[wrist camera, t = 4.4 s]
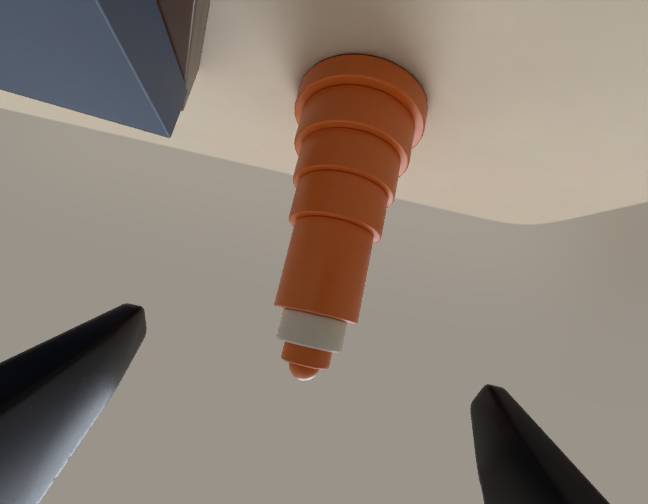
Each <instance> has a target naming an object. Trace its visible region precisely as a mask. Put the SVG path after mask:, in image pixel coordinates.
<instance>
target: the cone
mask: <svg viewBox="0 0 648 504" xmlns="http://www.w3.org/2000/svg"><path fill="white" fill-rule="evenodd" d="M295 116H296V120H297V122H298V125H299V126H298V129H297V133H296V137H295V149H296V152H297V154H298V156H299V157H298V161H297V164H296V168H295V172H294V176H293V183H294V185H295V187H296V192H295V196H294V199H293V203H292V207H291V211H290V215H289V222H290V223H291V225H292V226H293V227H294V229H293V233H292V237H291V241H290V244H289V248H288V252H287V256H286V260H285V264H284V268H283V272H282V276H281V280H280V284H279V288H278V292H277V295H276V299H275V303H274V305H275V306H277V307H280V308H283V309H284V310H283V313H282V317H281V321H280V326H279V329H278V334H277V338H278V339H280V340H282V341H285V343H284V347H283V351H282V355H281V358H282V359H283V360H285V361H287V362H289V368H290V371H291V373H292V375H293V376H294V377H296V378H297V379H299V380H309V379H312V378H313V377H314V376H315V375H316V374H317V373H318V371H319V369H328V368H329V365H330V360H331V355H332V352H335V353H339V352H341V351H342V346H343V341H344V336H345V331H346V326H347V323H352V324H357V322H358V318H359V311H360V307H361V302H362V297H363V291H364V286H365V281H366V276H367V270H368V265H369V260H370V255H371V249H372V244H375V243H377V242H378V241H379V240H380V239H381V235H382V230H383V225H384V219H385V214H386V208H388V207H389V206H390V205H391V204H392V203H393V201H394V198H395V192H396V187H397V181H398V178H399V177H400V176H401V175H402V174H403V173H404V172H405V171H406V169H407V168H408V165H409V161H410V155H411V149H412V148H414V147H415V146H416V145H417V143H418V142H419V141H420V139H421V137H422V136H423V132H424V128H425V122H426V116H427V100H426V97H425V94H424V92H423V90H422V88H421V86H420V85H419V83H418V82H417V81H416V80H415V79H414V78H413V77H412V76H411V75H410V74H409V73H408V72H407V71H405V70H404V69H402V68H401V67H399V66H397V65H396V64H393V63H391V62H389V61H387V60H384V59H381V58H377V57H373V56H368V55H357V54H355V55H341V56H336V57H332V58H329V59H326V60H324V61H322V62H320V63H318V64H317V65H315V66H314V67H313V68H311V69H310V70H309V71H308V72H307V74H306V75H305V76H304V78H303V80H302V82H301V85H300V88H299V91H298V95H297V99H296V102H295Z"/></svg>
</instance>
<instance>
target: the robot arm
mask: <svg viewBox="0 0 648 504" xmlns="http://www.w3.org/2000/svg"><path fill="white" fill-rule="evenodd" d="M145 334H146V320H145V312H144V309H143V308H142V307H141V306H137V305H133V304H123V305H121V306H119V307H116V308H114V309H112V310H110V311H108V312H106V313H104V314H102V315H100V316H98V317H96V318H93V319H91V320H89V321H87V322H85V323H83V324H81V325H79V326H77V327H75V328H72V329H70V330H68V331H66V332H64V333H62V334H60V335H58V336H56V337H53V338H51V339H49V340H47V341H45V342H43V343H41V344H39V345H37V346H35V347H33V348H30V349H28V350H26V351H24V352H22V353H20V354H18V355H16V356H14V357H11V358H9V359H7V360H5V361H3V362H1V363H0V504H38V503H39V502H40V500H41V499H42V497H43V496H44V494H45V493H46V491H47V490H48V489H49V487H50V485H51V484H52V483H53V481H54V480H55V478H56V477H57V475H58V474H59V473H60V471H61V470H62V468H63V467H64V465H65V464H66V462H67V461H68V459H69V458H70V457H71V455H72V454H73V452H74V451H75V449H76V448H77V447H78V445H79V444H80V442H81V441H82V439H83V438H84V436H85V435H86V433H87V432H88V431H89V429H90V427H91V426H92V425H93V423H94V422H95V420H96V419H97V417H98V416H99V415H100V413H101V411H102V410H103V409H104V407H105V406H106V404H107V403H108V401H109V400H110V398H111V397H112V395H113V394H114V392H115V390H116V388H117V387H118V385H119V383H120V381H121V380H122V378H123V376H124V374H125V372H126V370H127V369H128V367H129V365H130V363H131V361H132V359H133V358H134V356H135V354H136V352H137V350H138V349H139V347H140V345H141V343H142V341H143V339H144V337H145ZM471 420H472V429H473V437H474V445H475V454H476V463H477V469H478V476H479V481H480V486H481V490H482V495H483V500H484V504H610V503H609V502H608V501H607V500H606V499H605V498H604V497H603V496H602V495H601V493H600V492H598V490H597V489H596V488H595V487H594V486H593V485H592V484H591V483H590V482H589V480H588V479H587V478H586V477H585V476H584V475H583V474H582V473H581V472H580V471H579V470H578V469H577V467H576V466H575V465H574V464H573V463H572V462H571V461H570V460H569V459H568V457H567V456H566V455H565V454H564V453H563V452H562V451H561V450H560V449H559V448H558V447H557V445H556V444H554V442H553V441H552V440H551V439H550V438H549V437H548V436H547V435H546V434H545V433H544V431H543V430H542V429H541V428H540V427H539V426H538V425H537V424H536V423H535V421H534V420H533V419H532V418H531V417H530V416H529V415H528V414H527V413H526V412H525V411H524V410H523V408H522V407H521V406H520V405H519V404H518V403H517V402H516V401H515V400H514V399H513V398H512V396H510V395H509V393H508V392H507V391H506V390H505V389H504V388H502V387H498V386H494V385H489V384H487V385H485V386H484V387H483V388H482V389H481V391H480V392H479V393H478V395H477V396H476V397H475V398H474V400H473V401H472V404H471Z"/></svg>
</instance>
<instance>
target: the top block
mask: <svg viewBox="0 0 648 504" xmlns="http://www.w3.org/2000/svg"><path fill="white" fill-rule="evenodd" d="M0 89H1V90H4V91H7V92H11V93H14V94H18V95H21V96H25V97H28V98H32V99H35V100H39V101H42V102H46V103H49V104H53V105H56V106H60V107H63V108H67V109H70V110H74V111H77V112H81V113H84V114H88V115H91V116H95V117H98V118H101V119H105V120H108V121H112V122H115V123H119V124H122V125H126V126H129V127H133V128H136V129H140V130H143V131H147V132H150V133H154V134H157V135H161V136H164V137H168V138H170V137H171V135H172V132H173V130H174V127H175V124H176V122H177V119H178V116H179V114H180V111H181V108H182V106H183V103H184V100H185V98H186V95H187V88H186V85H185V82H184V79H183V76H182V73H181V70H180V68H179V65H178V62H177V59H176V56H175V53H174V50H173V47H172V44H171V41H170V39H169V36H168V33H167V30H166V27H165V24H164V21H163V18H162V15H161V12H160V10H159V7H158V4H157V1H156V0H0Z"/></svg>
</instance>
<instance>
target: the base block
mask: <svg viewBox="0 0 648 504" xmlns="http://www.w3.org/2000/svg"><path fill="white" fill-rule="evenodd" d="M156 1H157V4H158V7H159V10H160V12H161V15H162V18H163V21H164V24H165V27H166V30H167V33H168V36H169V39H170V41H171V44H172V47H173V50H174V53H175V56H176V59H177V62H178V65H179V68H180V70H181V73H182V76H183V79H184V82H185V85H186V88H187V95H186V98H185V100H184V103H183V106H182V108H181V111H183V110H184V107H185V105H186V102H187V99H188V97H189V94H190V91H191V89H192V86H193V83H194V81H195V78H196V75H197V72H198V70H199V64H200V58H201V53H202V47H203V41H204V35H205V29H206V23H207V17H208V11H209V5H210V0H156Z"/></svg>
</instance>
